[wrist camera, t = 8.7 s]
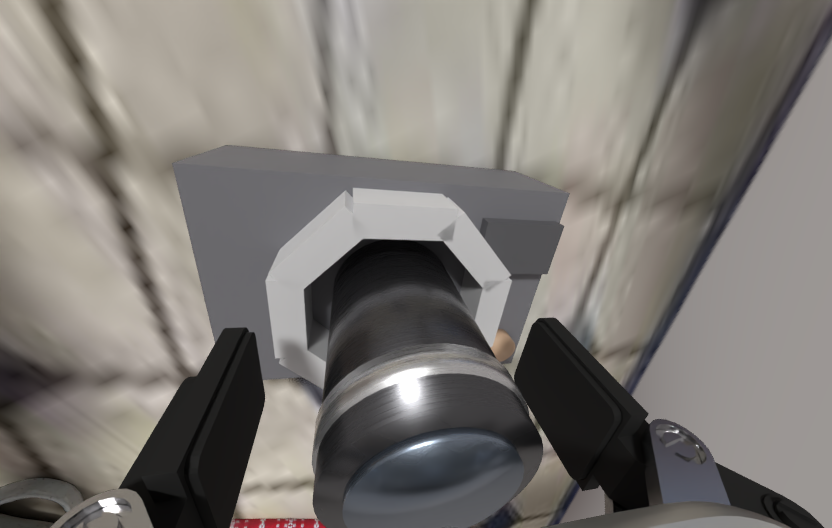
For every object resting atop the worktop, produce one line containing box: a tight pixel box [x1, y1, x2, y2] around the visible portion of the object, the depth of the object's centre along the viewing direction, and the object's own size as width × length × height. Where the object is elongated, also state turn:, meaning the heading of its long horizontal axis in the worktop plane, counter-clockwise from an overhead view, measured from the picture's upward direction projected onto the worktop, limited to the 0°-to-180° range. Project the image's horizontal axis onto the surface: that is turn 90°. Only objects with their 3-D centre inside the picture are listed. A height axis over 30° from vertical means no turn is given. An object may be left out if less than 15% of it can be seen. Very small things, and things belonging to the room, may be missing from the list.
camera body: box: [172, 145, 570, 389], centre depth 15 cm, size 10×15×7 cm, turn 84°
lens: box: [312, 239, 543, 528], centre depth 10 cm, size 5×5×8 cm
